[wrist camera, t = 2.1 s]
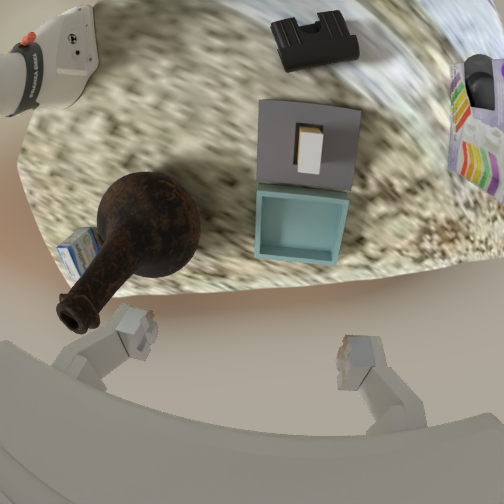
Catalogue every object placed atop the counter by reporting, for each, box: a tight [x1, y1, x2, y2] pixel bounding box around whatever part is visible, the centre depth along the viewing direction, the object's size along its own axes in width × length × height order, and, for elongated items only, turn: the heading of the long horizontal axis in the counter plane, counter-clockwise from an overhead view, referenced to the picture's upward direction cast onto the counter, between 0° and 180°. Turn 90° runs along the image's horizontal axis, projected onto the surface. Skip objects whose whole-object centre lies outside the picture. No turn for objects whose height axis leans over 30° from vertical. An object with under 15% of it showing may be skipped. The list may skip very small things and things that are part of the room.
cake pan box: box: [448, 54, 504, 205], centre depth 21 cm, size 19×5×18 cm, turn 4°
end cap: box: [270, 10, 359, 73], centre depth 26 cm, size 10×7×7 cm
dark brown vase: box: [56, 172, 200, 334], centre depth 35 cm, size 18×18×28 cm
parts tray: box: [254, 183, 350, 266], centre depth 42 cm, size 12×14×4 cm
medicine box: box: [57, 228, 99, 278], centre depth 50 cm, size 8×4×9 cm, turn 7°
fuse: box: [297, 126, 323, 174], centre depth 33 cm, size 5×3×8 cm, turn 179°
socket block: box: [256, 100, 361, 191], centre depth 36 cm, size 12×14×2 cm
